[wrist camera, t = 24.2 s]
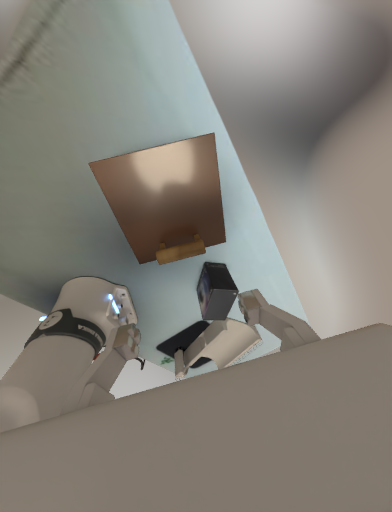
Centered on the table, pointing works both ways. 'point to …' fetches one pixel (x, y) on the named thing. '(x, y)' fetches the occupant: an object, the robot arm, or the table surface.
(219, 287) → the small box
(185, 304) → the table surface
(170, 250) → the box lid
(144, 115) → the table surface
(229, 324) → the skate ramp
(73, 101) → the table surface
